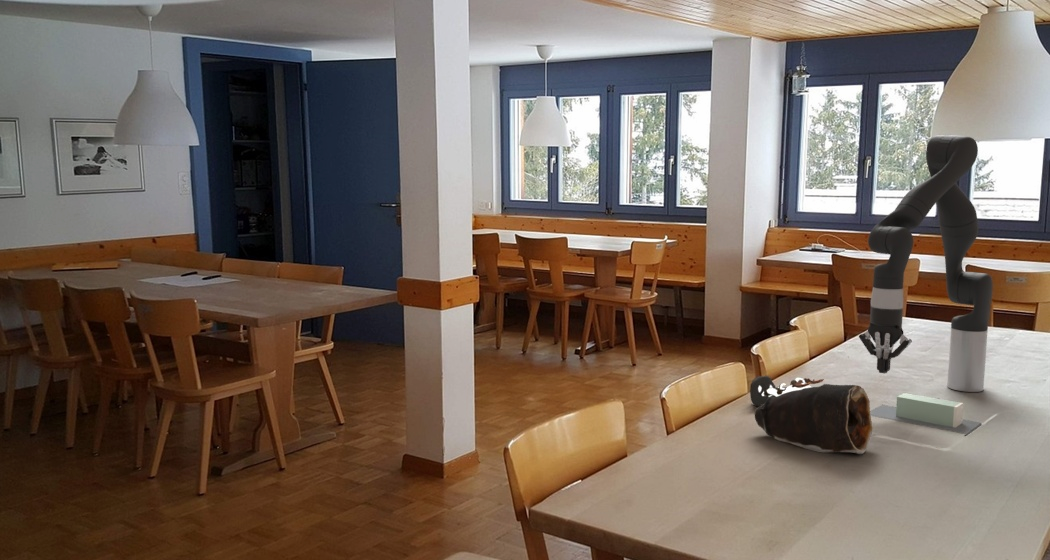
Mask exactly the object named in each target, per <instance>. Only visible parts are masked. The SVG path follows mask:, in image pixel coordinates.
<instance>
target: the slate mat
mask: <svg viewBox="0 0 1050 560" xmlns="http://www.w3.org/2000/svg"><path fill="white" fill-rule="evenodd" d="M870 415H871V417H878V418H882V419H888V420H892V421H897V422H903V423H908V424H912V425H918V426H924V427H928V428H933V429H938V430H943V431H948V432H949V431H950V432H955V433H959V434H964V435H963V437H967V436H969V435H970V434H972V433H973V432H974V431H975V430H977V429H978V428H980V427H981V426H982V424H983V423H982V422H980V421H974V420H969V419H963V418H962V423H961V424H960V425H959V426H957V427H956V428H955V427H950V426H945V425H939V424H934V423H929V422H924V421H919V420H913V419H908V418H903V417H898V416H896V406H894V405H887V404H880V405H879V406H877V407H875V408H873V409H870Z"/></svg>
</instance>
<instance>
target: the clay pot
mask: <svg viewBox="0 0 1050 560" xmlns="http://www.w3.org/2000/svg"><path fill="white" fill-rule="evenodd" d="M870 402H871V400H870V399H869V396H868V395H867V393H866V391H865V389H864V388H863V387H862V386H861V385H858V384H830V383H824V384H822V385H819V386H811V387H810V388H804V389H801V390H795V391H791V392H787V393H784V394H781V395H779V396H777V397H769V398H768V399H767V401H766V402H765V403H764V404H762V405H760V406H758V407H757V408H756V409H755V410H754V419H755V421H756V424H757V425H758V427H760V428H761V429H762V430H763V432H765V434H766V435H768V436H769V437H771V438H773V439H775V440H776V441H778V442H784V443H789V444H792V445H794V446H796V447H799V448H800V447H801V448H804V449H806V450H810V451H813V452H814V451H815V452H819V453H851V454H852V453H854V454H857V455H862V454H864V453H865V452H866V451H867V448H868V446H869V444H870V441H871V437H872V436H873V422H872V416H871V415H870V411H871V405H870V404H871V403H870Z"/></svg>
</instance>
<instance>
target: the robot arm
mask: <svg viewBox="0 0 1050 560" xmlns="http://www.w3.org/2000/svg"><path fill="white" fill-rule="evenodd" d="M978 147H979V146H978V142H976V139H974V138H973V137H971V136H967V135H966V136H965V135H955V134H953V135H951V134H937V135H934V136H932V137H931V138H930V139H929V140H928V142H927V145H926V150H925V152H926V153H925V156H926V157H925V159H926V165H927V169H928V172H929V176H930V177H928V178H927V179H926V180H924V181H922V182H920V183H918V184H917V185H915V186H914V187H912V188H911V189H910V190H909V191H908V192H907V193H906V194H905V195H904V197H903V198H902V199H901V201H899V204H897V206H896V207H895V209H894V210H893V211H891V212H890V213H889V214H887V215H886V216H885V217H884V218H882V220H880V221H879V222H878V223H877V224H875V225H874V227H873V228H872V229H871V230H870V232H869V235H868V237H867V238H868V239H867V243H868V247H869V249H870V250H871V251H872V252H873V253H876V254H882V255H889V259H888V260H887V262H885V263H879V264H876V265H875V266H874V269H873V277H872V291H871V297H870V313H869V315H870V316H869V326H868V327H867V330H866V331H865V332H863V333H860V334H859V335H858V338H859V339H860V341H861V343H862V344H863V346H864V347H865V348H866V350H867V352H868V353H869V354H870V355H871V356H874V357H876V358H877V360H876V370H877V371H878V374H887V373H888V372H889V371H890V370H891V359H894V358H897V357H899V356H900V355H902V353H903V351H904V350H906V349H907V348H908V346H910V345H911V343H912V342H913V341H912V339H911V338H908V337H907V336H906V335H904V330H903V327H902V326H903V314H904V313H903V312H904V279H905V277H904V276H905V270H906V267H907V265H908V262H909V259H910V255H911V253H912V250H913V246H914V237H913V234H912V232H911V231H913V230H916V229H918V227H919V226H920V225H921V224H922V222H923V221H924V220H925V218H926V217H927V215H928V214H929V213H930V211H931V209H933V207H934V205H936V207H937V214H938V224H939V230H940V235H941V236H940V237H941V242H942V247H943V252H944V261H945V262H944V263H945V265H944V266H945V279H946V281H945V282H946V284H945V285H946V292H947V293H946V294H947V297H948V299H949V301H951V303H954V304H958V305H968V306H973V308H972V311H970V312H969V313H966V314H962V315H956V316H953V317H952V319H951V321H950V323H951V324H950V339H949V353H948V354H949V355H948V368H947V369H948V370H947V385H946V386H947V388H948V389H952V390H955V391H959V392H966V393H968V392H969V393H977V392H982V391H984V384H985V375H986V374H985V373H986V360H987V359H986V358H987V348H988V347H987V345H988V330H989V329H988V327H989V322H990V317H991V316H990V315H991V304H992V298H993V291H994V290H993V289H994V288H993V287H994V283H993V278H992V276H991V275H990V274H989V273H984V272H983V273H982V272H974V271H964V269H963V260H964V258H965V256H966V254H967V253H968V251H969V250H970V248H971V247H972V246H973V244H974V243H975V241H976V240H977V238H978V235H979V222H978V215H977V211H976V208H975V206H974V204H973V202H972V201H971V200H970V198H968V196H967V195H966V194H965V192H964V191H963V190H962V189H961V187H960V186H959V185H958V183H957V182H959V181H960V179H962V178H963V176H964V175H966V174H967V173H968V171H969V170H971V168H972V166H974V164H975V162H976V161H977V158H978V153H979V152H978V150H979V148H978ZM871 339H872V340H871ZM872 341H873V342H874V343H875V344H874V343H873V342H872ZM898 341H899V345H898V347H896V348H895V349H894V345H895V344H897V342H898ZM893 349H894V350H893Z"/></svg>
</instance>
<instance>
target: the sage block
mask: <svg viewBox="0 0 1050 560" xmlns="http://www.w3.org/2000/svg"><path fill="white" fill-rule="evenodd" d="M895 407H896V416H898V417H903V418H908V419H913V420H919V421H924V422H929V423H934V424H939V425H945V426H950V427H955V428H956V427H957V426H959V425H960V424H961V423H962V419H963V416H964V402H959V401H954V400H953V401H952V400H947V399H941V398H936V397H932V396H931V397H930V396H925V395H924V396H923V395H918V394H911V393H907V392H903V393H902V394H901V393H900V394H899V395H897V396H896V406H895Z"/></svg>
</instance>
